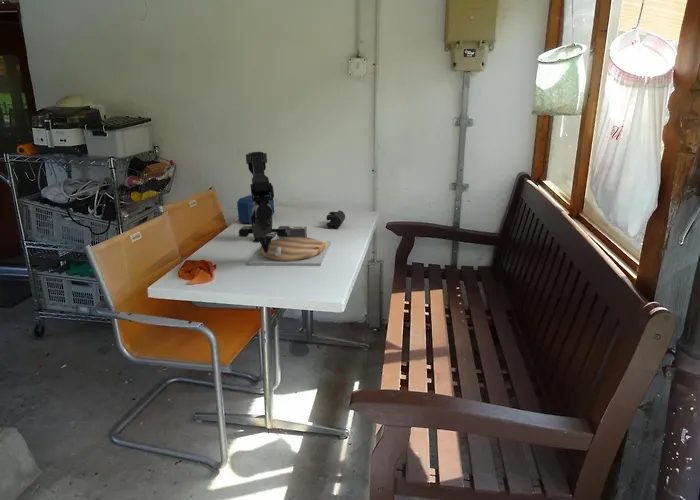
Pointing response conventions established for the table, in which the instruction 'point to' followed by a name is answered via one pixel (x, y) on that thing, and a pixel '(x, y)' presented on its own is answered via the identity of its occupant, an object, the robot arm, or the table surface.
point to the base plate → (313, 261)
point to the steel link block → (298, 232)
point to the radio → (248, 208)
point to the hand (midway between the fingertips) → (266, 252)
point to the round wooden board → (292, 249)
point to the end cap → (335, 219)
